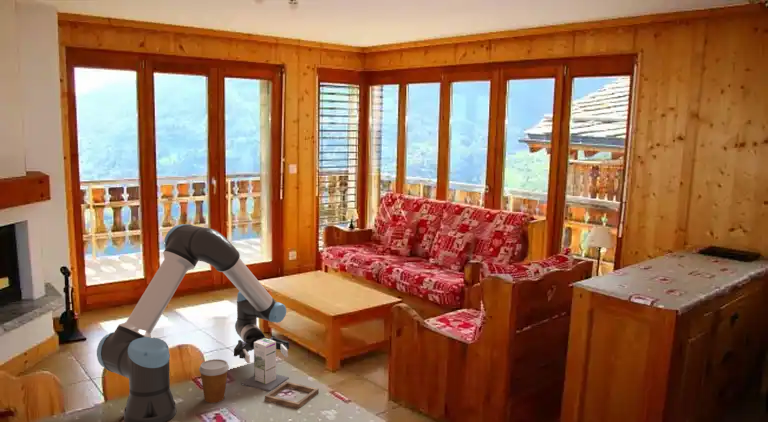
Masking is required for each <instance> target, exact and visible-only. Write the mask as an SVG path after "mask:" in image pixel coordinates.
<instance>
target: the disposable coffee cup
mask: <svg viewBox="0 0 768 422" xmlns="http://www.w3.org/2000/svg"><path fill="white" fill-rule="evenodd" d="M229 369H230V366H229V363H228V361H226V360H224V359H219V358H217V359H208V360H205V361H203V362H202V363H201V364H200V366H199V368H198V371H199V373H200V376H201V377H200V378H201V384H202V392H203V397H204V398H203V399H204V401H205V402H206V403H210V404H212V403H213V404H214V403H219V402H222V401H223V400H224V399H225V394H226V388H227V387H226V386H227V380H228V379H227V378H228V371H229Z"/></svg>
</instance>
